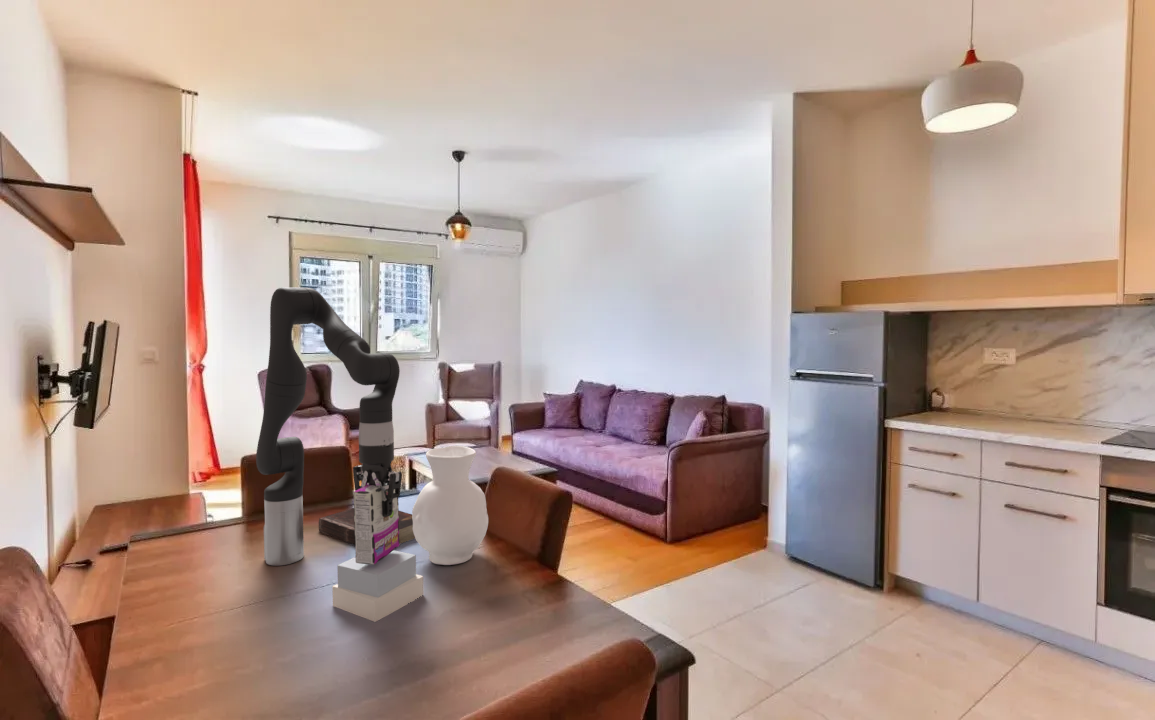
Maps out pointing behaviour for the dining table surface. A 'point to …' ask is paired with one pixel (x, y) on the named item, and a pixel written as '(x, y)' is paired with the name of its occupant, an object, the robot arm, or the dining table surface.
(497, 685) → the dining table surface
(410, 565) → the top block
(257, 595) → the dining table surface
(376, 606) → the lower block
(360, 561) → the candy bar box
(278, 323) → the robot arm
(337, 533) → the hardback book
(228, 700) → the dining table surface
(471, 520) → the vase
